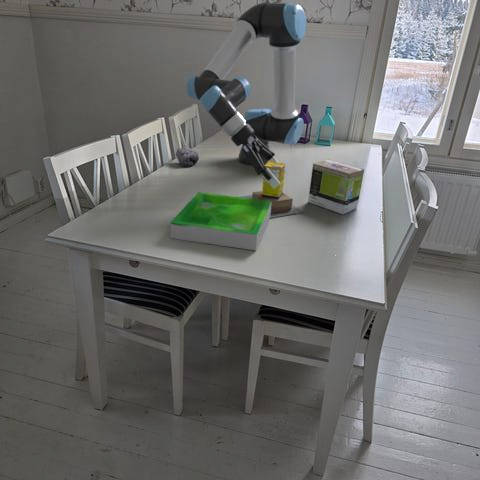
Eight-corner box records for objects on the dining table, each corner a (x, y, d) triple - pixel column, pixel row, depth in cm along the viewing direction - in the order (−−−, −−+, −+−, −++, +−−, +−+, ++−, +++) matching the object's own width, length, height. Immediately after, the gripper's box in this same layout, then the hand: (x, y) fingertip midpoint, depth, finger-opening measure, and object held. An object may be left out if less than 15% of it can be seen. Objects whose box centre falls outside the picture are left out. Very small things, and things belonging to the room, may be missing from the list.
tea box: (357, 208, 149) (365, 168, 142) (342, 215, 142) (350, 173, 136) (322, 196, 158) (328, 157, 151) (306, 202, 152) (312, 162, 145)
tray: (270, 215, 138) (271, 201, 136) (255, 250, 116) (257, 234, 114) (198, 205, 143) (198, 192, 140) (171, 238, 121) (170, 222, 119)
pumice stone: (196, 173, 181) (200, 160, 189) (196, 158, 176) (200, 145, 183) (173, 170, 182) (178, 158, 189) (171, 155, 176) (177, 143, 184)
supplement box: (282, 193, 145) (285, 163, 140) (278, 199, 140) (281, 168, 135) (265, 191, 147) (268, 160, 142) (261, 196, 142) (264, 165, 137)
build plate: (235, 198, 151) (235, 186, 149) (272, 192, 158) (273, 181, 156) (263, 219, 136) (264, 207, 134) (303, 212, 143) (305, 200, 141)
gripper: (238, 129, 148) (276, 175, 153) (220, 146, 127) (265, 199, 131) (254, 115, 145) (292, 162, 149) (238, 130, 123) (284, 185, 128)
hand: (279, 179), depth 140 cm, fingers open, 13 cm apart
